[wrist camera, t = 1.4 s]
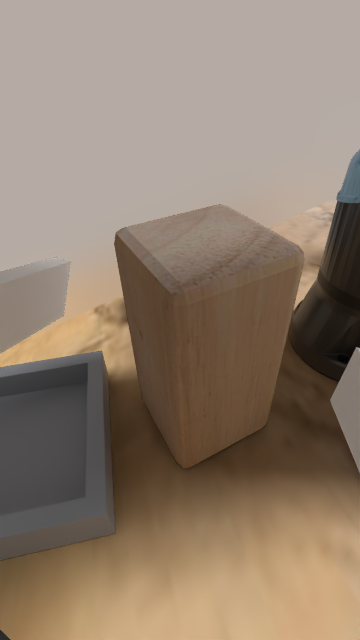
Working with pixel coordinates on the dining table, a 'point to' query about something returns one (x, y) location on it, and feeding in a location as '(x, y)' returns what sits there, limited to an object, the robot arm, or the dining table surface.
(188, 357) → the wooden block
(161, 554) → the dining table surface
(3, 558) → the gray square tray
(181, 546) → the dining table surface
